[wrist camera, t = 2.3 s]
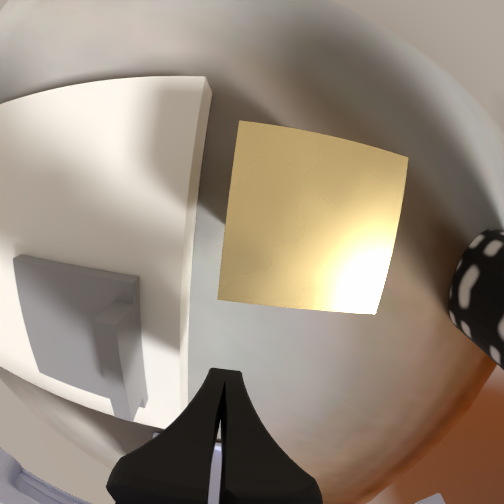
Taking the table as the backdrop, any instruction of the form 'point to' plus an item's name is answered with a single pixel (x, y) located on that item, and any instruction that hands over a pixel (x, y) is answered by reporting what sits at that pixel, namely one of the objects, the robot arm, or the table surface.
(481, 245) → the white-spotted black cylinder
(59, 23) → the table surface
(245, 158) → the peg
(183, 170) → the socket base
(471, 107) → the table surface
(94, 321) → the panel
